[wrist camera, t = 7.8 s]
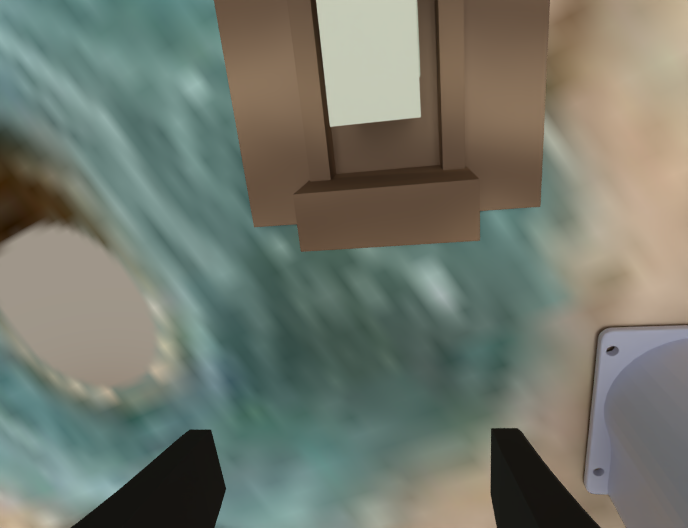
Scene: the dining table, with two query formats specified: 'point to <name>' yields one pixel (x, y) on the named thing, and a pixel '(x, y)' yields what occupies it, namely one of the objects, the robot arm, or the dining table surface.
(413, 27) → the door panel
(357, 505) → the dining table surface
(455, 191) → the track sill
